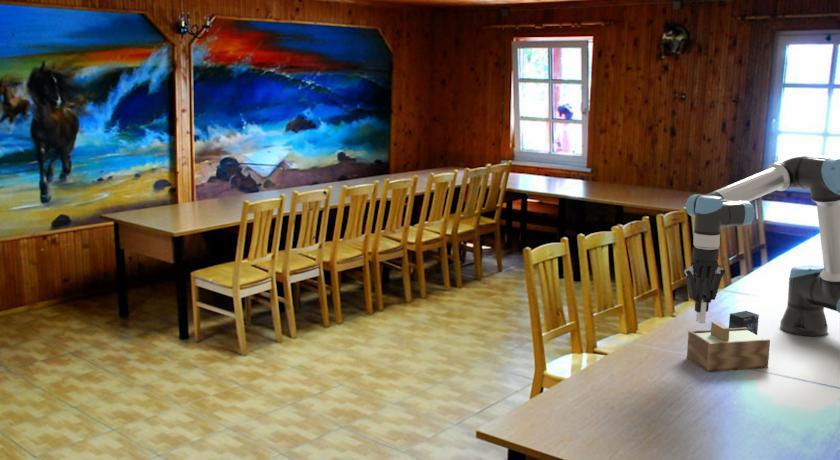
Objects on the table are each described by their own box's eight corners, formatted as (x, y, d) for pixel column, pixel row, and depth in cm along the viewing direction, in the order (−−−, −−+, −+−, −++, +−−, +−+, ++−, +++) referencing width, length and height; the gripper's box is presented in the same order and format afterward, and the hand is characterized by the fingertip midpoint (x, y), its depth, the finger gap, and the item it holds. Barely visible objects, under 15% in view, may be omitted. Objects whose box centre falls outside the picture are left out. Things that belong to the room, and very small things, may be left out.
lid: (747, 332, 259) (748, 317, 258) (766, 343, 249) (768, 328, 248) (692, 336, 256) (693, 321, 255) (710, 347, 246) (711, 331, 245)
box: (740, 348, 268) (742, 317, 266) (727, 343, 273) (729, 313, 271) (757, 344, 271) (759, 314, 269) (743, 339, 276) (745, 310, 274)
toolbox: (744, 354, 262) (746, 327, 260) (767, 368, 249) (770, 340, 248) (686, 357, 258) (688, 330, 257) (707, 372, 246) (709, 343, 244)
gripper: (719, 244, 250) (713, 317, 254) (680, 245, 248) (675, 319, 252) (732, 248, 243) (726, 324, 247) (692, 250, 240) (687, 326, 245)
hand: (700, 321), depth 250 cm, fingers closed
